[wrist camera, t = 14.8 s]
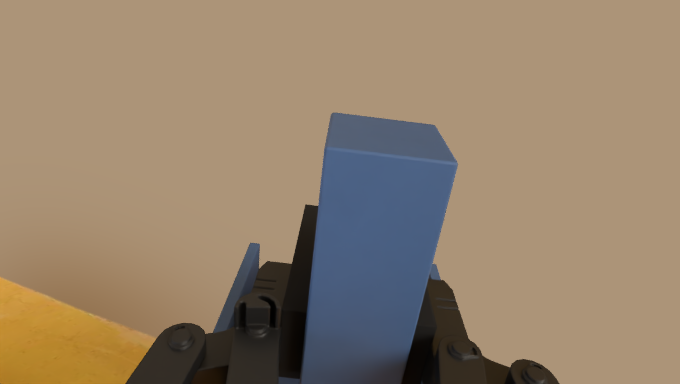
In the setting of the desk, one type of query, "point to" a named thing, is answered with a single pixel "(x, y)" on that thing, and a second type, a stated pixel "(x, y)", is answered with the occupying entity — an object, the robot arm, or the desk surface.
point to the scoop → (367, 249)
